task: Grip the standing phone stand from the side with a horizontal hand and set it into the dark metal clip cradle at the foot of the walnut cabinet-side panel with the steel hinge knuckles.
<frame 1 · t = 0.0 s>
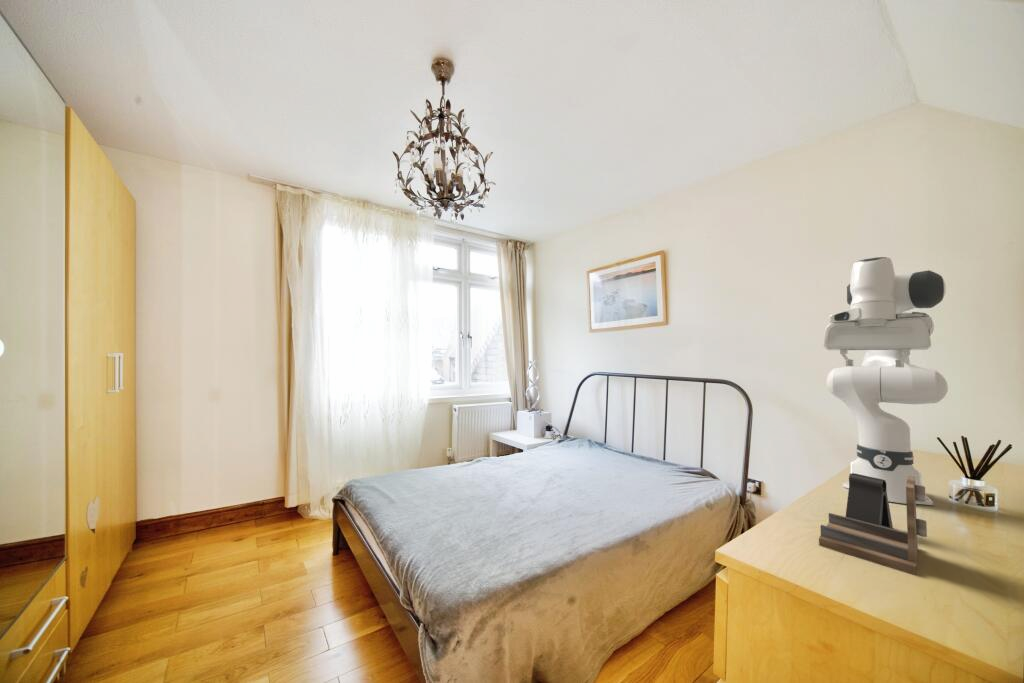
hand: (873, 366, 96), 39 cm above the dresser, tool pointing down, fingers open, 8 cm apart
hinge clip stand: (868, 547, 78), on the dresser
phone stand: (868, 527, 88), on the dresser
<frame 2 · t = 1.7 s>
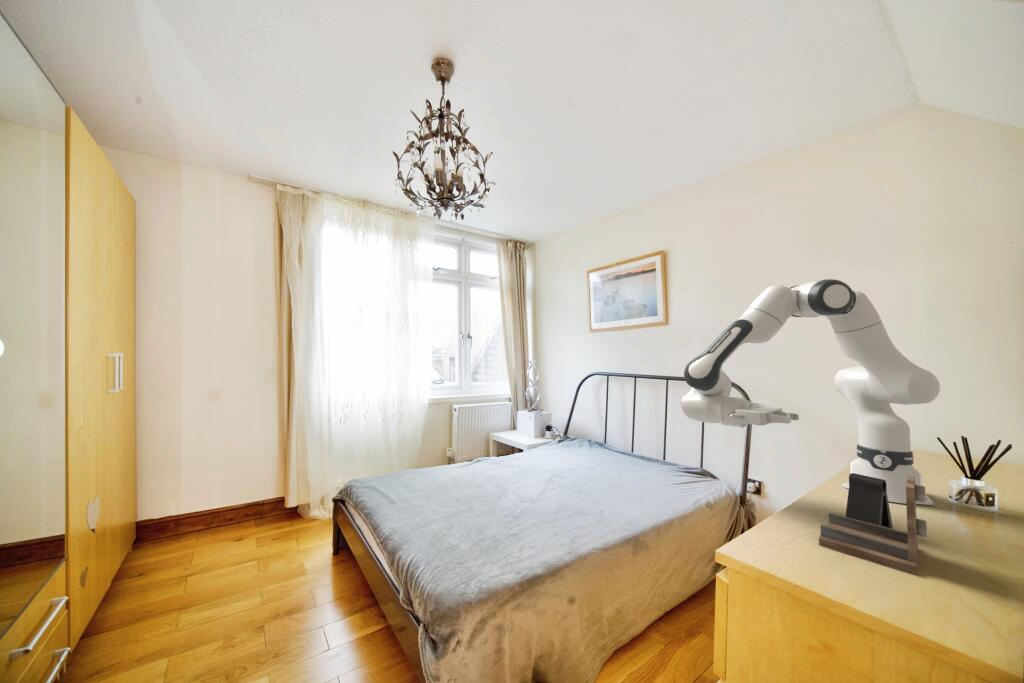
hand: (794, 418, 99), 24 cm above the dresser, tool horizontal, fingers open, 8 cm apart
nothing on the dresser moved.
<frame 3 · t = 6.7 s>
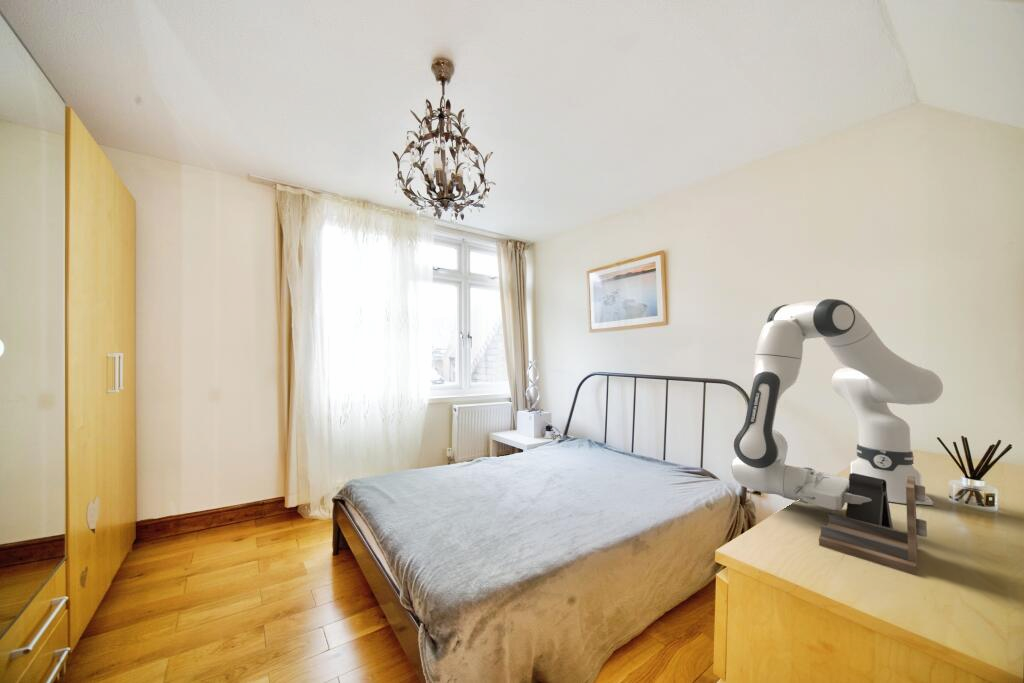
hand: (873, 500, 87), 7 cm above the dresser, tool horizontal, fingers closed on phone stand, 2 cm apart
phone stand: (868, 527, 88), on the dresser, touching gripper
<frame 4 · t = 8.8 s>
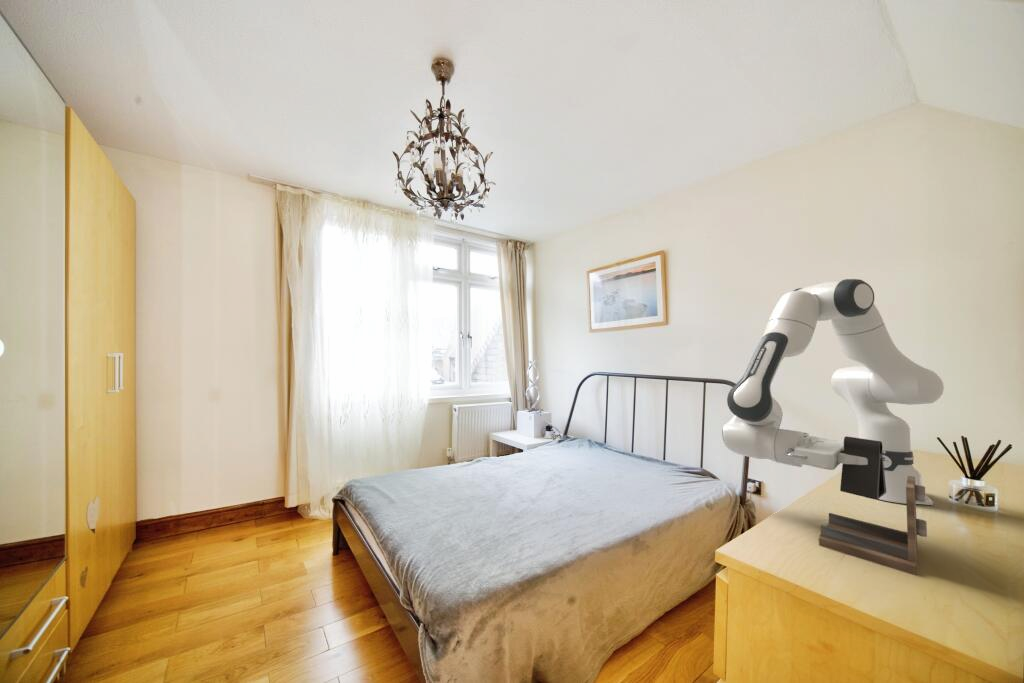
hand: (868, 460, 82), 17 cm above the dresser, tool horizontal, fingers closed on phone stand
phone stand: (863, 492, 83), point 10 cm above the dresser, touching gripper
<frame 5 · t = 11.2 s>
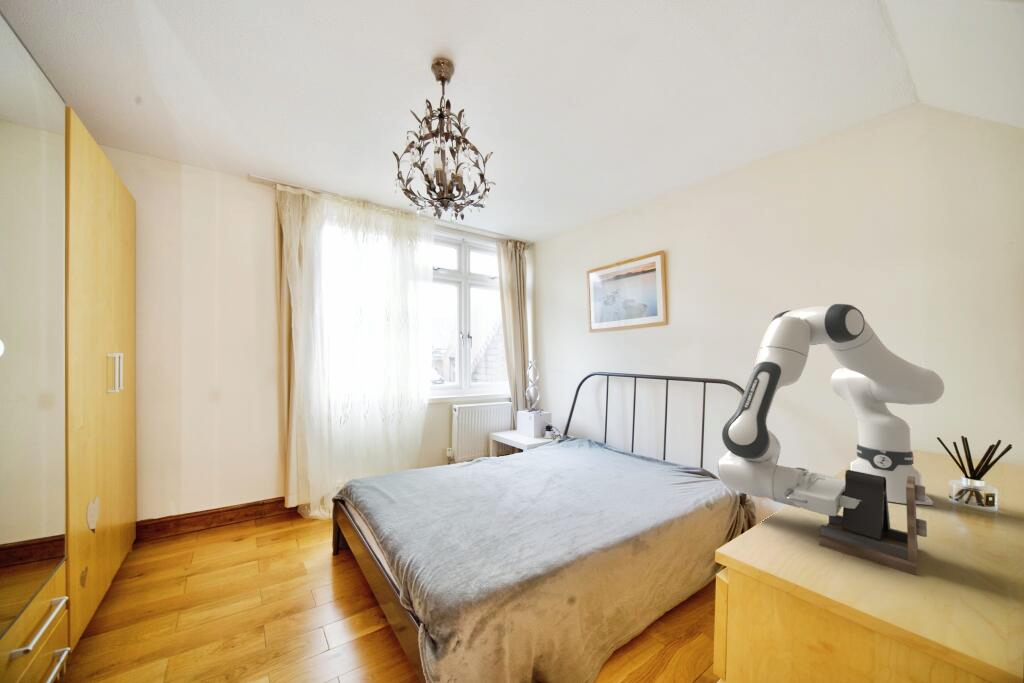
hand: (872, 504, 77), 9 cm above the dresser, tool horizontal, fingers closed on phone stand, 2 cm apart
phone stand: (866, 531, 78), point 3 cm above the dresser, touching gripper, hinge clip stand
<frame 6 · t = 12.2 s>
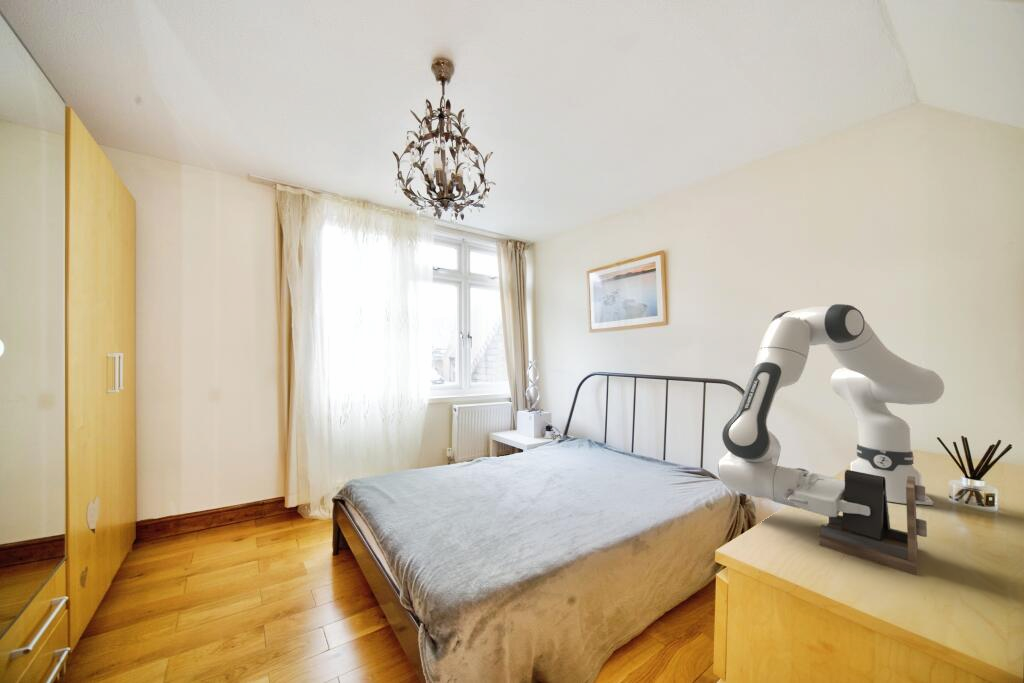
hand: (872, 505, 77), 9 cm above the dresser, tool horizontal, fingers open, 8 cm apart
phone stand: (866, 531, 78), point 3 cm above the dresser, touching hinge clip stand
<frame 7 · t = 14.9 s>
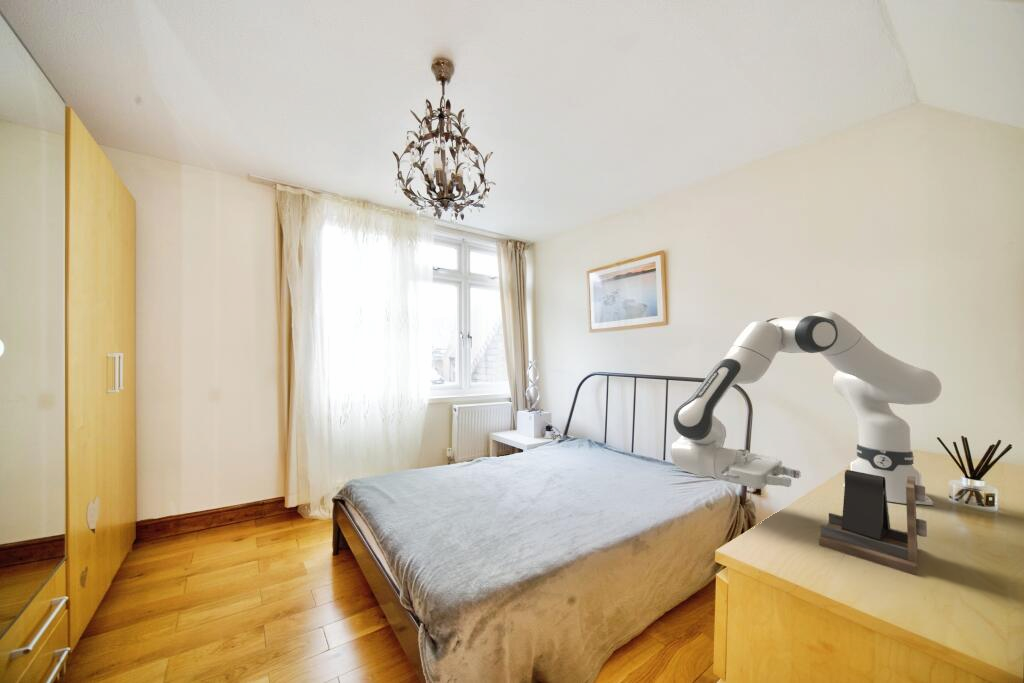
hand: (795, 478, 88), 11 cm above the dresser, tool horizontal, fingers open, 8 cm apart
nothing on the dresser moved.
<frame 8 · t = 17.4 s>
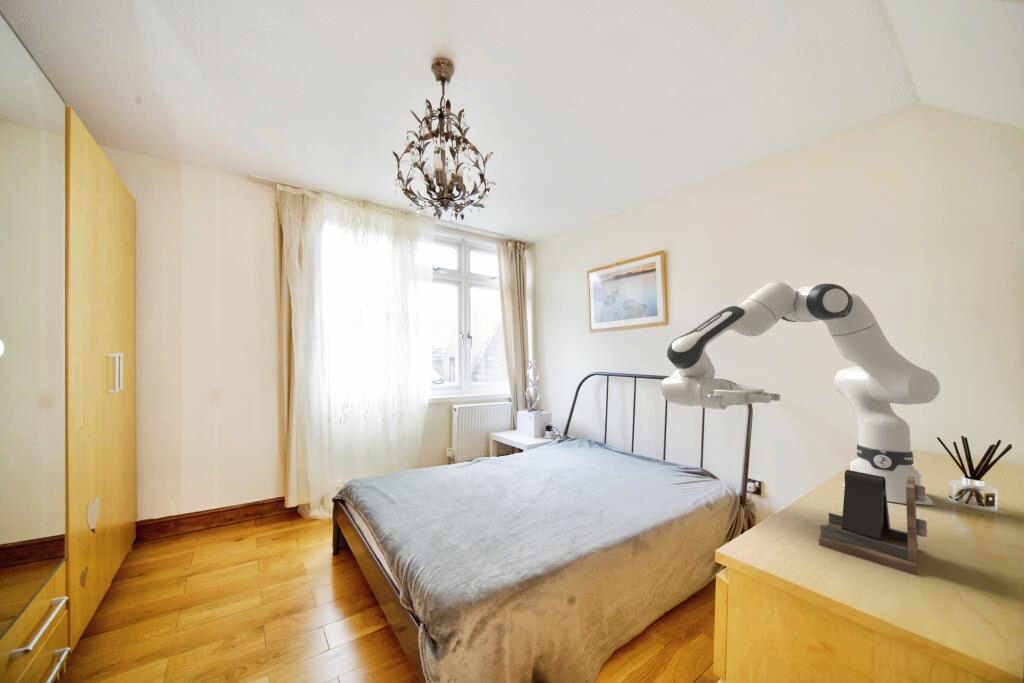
hand: (775, 398, 95), 30 cm above the dresser, tool horizontal, fingers open, 8 cm apart
nothing on the dresser moved.
at the end: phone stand 0.2 cm from the target spot, point 3.3 cm above the dresser; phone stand tilted 0°; the gripper is holding nothing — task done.
